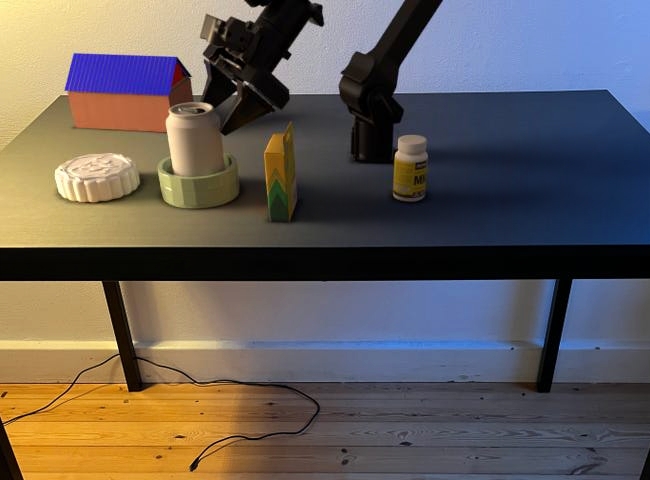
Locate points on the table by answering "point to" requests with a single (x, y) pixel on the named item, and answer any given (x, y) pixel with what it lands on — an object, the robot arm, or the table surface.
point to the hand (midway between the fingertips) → (210, 124)
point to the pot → (199, 185)
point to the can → (195, 140)
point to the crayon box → (281, 175)
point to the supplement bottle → (410, 168)
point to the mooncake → (97, 177)
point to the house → (126, 90)
